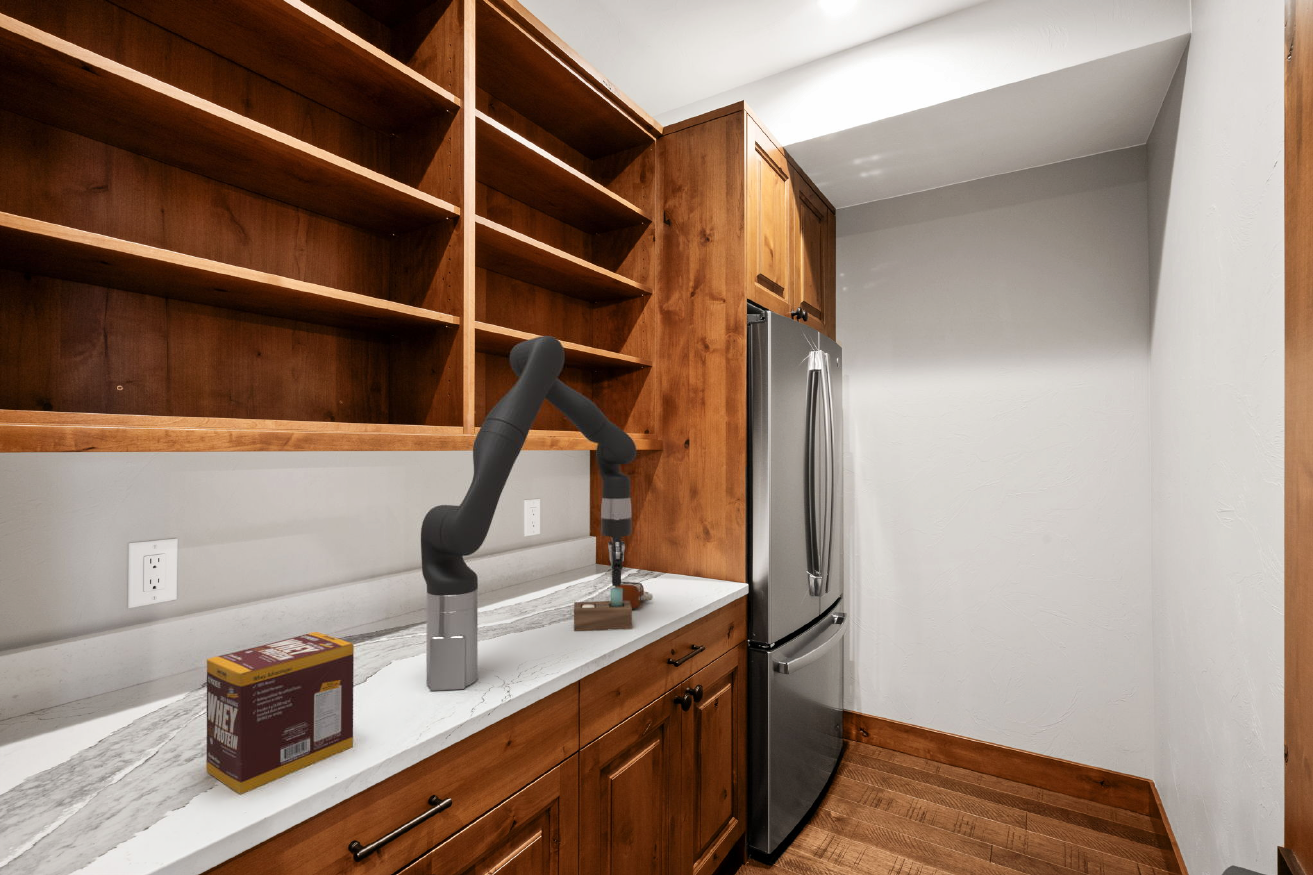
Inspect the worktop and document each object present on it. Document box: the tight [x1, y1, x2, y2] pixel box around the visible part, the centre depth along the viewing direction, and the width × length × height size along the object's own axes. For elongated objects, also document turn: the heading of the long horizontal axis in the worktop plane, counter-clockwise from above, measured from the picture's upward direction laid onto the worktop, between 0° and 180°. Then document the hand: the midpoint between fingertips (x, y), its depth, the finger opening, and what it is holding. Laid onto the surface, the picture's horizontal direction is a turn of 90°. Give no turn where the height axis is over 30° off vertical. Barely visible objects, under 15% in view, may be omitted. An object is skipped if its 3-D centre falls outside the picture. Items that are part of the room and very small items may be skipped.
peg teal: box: [610, 586, 623, 607], centre depth 153 cm, size 3×3×5 cm
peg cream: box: [582, 604, 594, 608], centre depth 152 cm, size 3×3×5 cm
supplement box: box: [205, 631, 355, 795], centre depth 88 cm, size 10×15×16 cm
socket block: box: [573, 600, 633, 632], centre depth 153 cm, size 8×14×5 cm, turn 97°
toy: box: [614, 581, 654, 610], centre depth 174 cm, size 9×7×15 cm
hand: (616, 585), depth 153 cm, fingers closed
